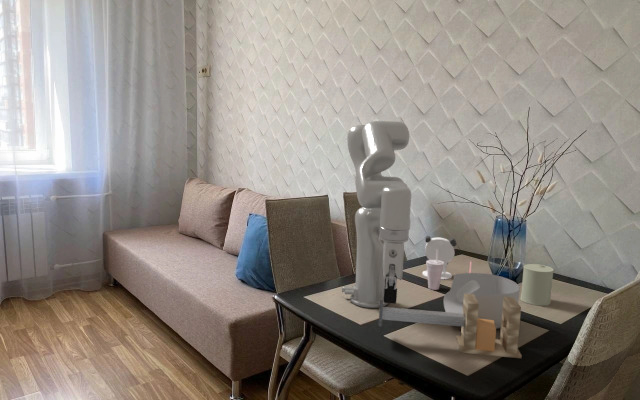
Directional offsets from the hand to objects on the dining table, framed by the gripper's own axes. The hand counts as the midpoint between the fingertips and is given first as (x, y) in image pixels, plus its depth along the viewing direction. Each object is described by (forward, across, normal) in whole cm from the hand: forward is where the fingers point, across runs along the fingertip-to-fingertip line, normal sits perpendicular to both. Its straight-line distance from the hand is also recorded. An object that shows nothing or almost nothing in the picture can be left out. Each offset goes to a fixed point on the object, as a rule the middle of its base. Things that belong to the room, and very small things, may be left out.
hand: (390, 295), depth 119 cm
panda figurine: (+15, +58, -19) cm, 63 cm away
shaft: (+7, -1, -9) cm, 11 cm away
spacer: (+11, -2, -25) cm, 27 cm away
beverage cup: (+13, +30, -26) cm, 42 cm away
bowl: (+13, +16, -27) cm, 34 cm away
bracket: (+11, -2, -26) cm, 28 cm away
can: (+13, +37, -49) cm, 63 cm away
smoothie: (+14, +42, -16) cm, 47 cm away
